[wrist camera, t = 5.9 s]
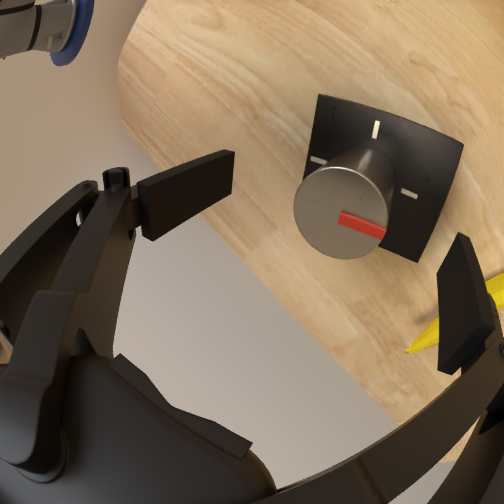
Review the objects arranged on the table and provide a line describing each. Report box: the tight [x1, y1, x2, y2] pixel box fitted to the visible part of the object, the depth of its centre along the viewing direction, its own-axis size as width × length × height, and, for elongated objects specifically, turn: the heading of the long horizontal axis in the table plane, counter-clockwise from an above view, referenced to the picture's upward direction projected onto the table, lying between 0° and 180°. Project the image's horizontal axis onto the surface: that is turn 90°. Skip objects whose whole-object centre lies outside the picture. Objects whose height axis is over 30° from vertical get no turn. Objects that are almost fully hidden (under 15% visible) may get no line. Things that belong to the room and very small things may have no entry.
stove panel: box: [302, 94, 464, 263], centre depth 20 cm, size 12×11×3 cm
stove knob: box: [294, 145, 395, 259], centre depth 16 cm, size 5×5×9 cm
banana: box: [406, 272, 504, 353], centre depth 17 cm, size 3×19×6 cm, turn 136°
